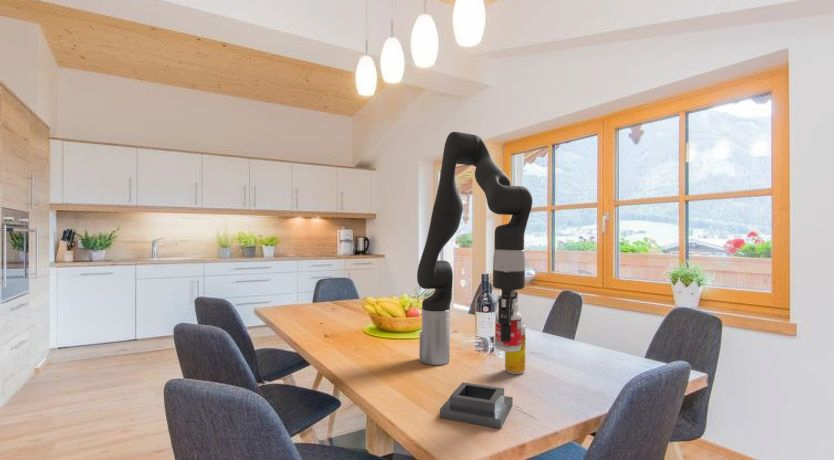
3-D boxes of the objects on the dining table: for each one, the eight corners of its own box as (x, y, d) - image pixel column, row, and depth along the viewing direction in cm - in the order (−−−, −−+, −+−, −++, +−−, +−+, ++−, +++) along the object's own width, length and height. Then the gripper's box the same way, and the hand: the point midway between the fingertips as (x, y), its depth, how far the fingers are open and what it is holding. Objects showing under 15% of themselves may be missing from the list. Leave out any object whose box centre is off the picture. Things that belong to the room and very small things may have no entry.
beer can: (525, 375, 129) (525, 325, 129) (504, 373, 130) (505, 324, 130) (524, 369, 135) (524, 321, 135) (504, 367, 136) (505, 320, 136)
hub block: (439, 417, 98) (439, 397, 98) (457, 396, 111) (458, 379, 111) (501, 428, 93) (501, 407, 93) (512, 405, 106) (512, 386, 106)
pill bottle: (490, 349, 103) (491, 302, 103) (502, 344, 108) (502, 299, 108) (514, 354, 99) (514, 306, 99) (525, 348, 104) (526, 302, 104)
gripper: (498, 265, 112) (497, 330, 112) (487, 270, 98) (486, 343, 98) (528, 267, 109) (527, 333, 109) (520, 271, 96) (519, 347, 96)
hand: (507, 337), depth 104 cm, fingers closed on pill bottle, 6 cm apart
